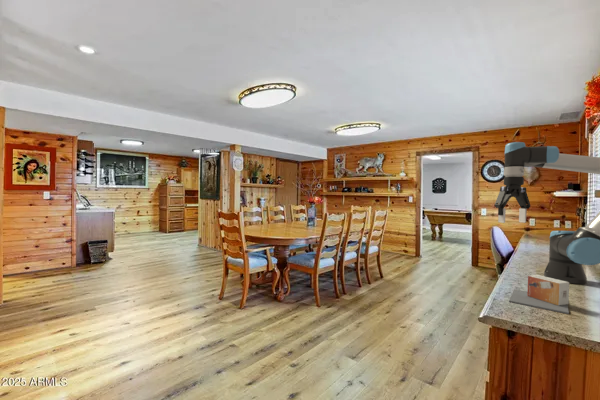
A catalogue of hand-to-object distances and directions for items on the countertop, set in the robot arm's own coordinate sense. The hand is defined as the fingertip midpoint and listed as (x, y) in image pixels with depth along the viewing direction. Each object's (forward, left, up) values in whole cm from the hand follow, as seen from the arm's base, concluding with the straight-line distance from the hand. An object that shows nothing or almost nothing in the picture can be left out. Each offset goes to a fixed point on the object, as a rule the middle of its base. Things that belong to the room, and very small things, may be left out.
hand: (512, 222), depth 135 cm
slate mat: (+18, +23, -27) cm, 40 cm away
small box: (+15, +30, -22) cm, 40 cm away
